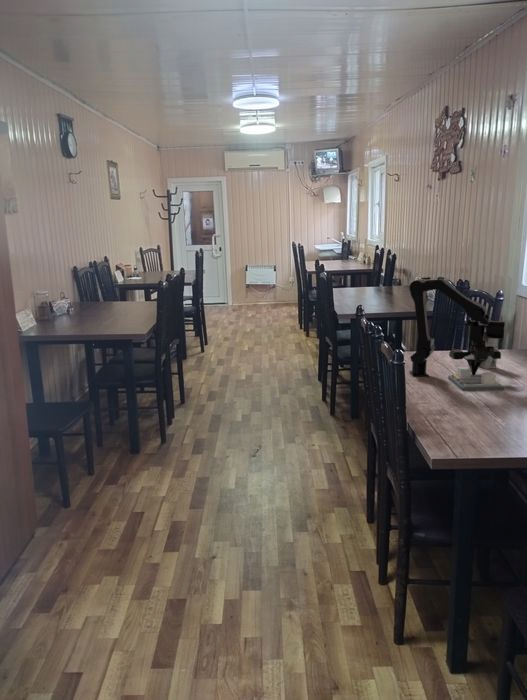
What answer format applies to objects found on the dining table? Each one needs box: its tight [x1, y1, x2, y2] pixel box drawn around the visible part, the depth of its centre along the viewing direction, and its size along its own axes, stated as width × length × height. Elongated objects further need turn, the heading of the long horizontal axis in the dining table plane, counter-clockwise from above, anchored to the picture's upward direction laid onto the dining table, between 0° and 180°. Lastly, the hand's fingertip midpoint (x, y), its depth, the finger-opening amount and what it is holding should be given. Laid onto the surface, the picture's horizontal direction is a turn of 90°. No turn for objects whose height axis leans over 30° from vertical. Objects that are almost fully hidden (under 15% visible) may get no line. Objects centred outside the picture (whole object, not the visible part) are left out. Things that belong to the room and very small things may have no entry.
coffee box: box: [478, 327, 500, 370], centre depth 246 cm, size 9×6×16 cm
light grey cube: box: [457, 366, 472, 378], centre depth 225 cm, size 4×4×4 cm
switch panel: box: [447, 373, 505, 392], centre depth 221 cm, size 16×16×2 cm
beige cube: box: [481, 372, 497, 384], centre depth 216 cm, size 4×4×4 cm
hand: (473, 375), depth 225 cm, fingers closed
